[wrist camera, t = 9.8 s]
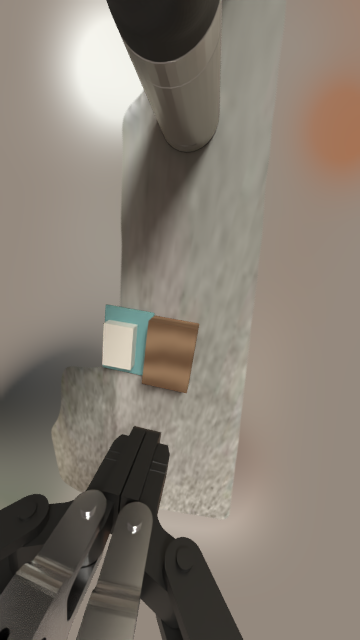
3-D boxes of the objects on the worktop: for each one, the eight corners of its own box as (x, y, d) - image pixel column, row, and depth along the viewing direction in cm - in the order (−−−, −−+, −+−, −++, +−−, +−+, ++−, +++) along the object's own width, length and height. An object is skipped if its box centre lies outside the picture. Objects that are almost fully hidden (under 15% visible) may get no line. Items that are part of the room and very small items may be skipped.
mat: (106, 304, 45) (105, 304, 45) (154, 313, 44) (154, 313, 44) (103, 366, 49) (102, 366, 49) (147, 375, 48) (146, 376, 48)
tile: (133, 328, 43) (137, 324, 45) (103, 323, 43) (109, 319, 46) (130, 370, 45) (134, 364, 47) (102, 364, 46) (107, 359, 48)
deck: (154, 315, 44) (148, 320, 40) (199, 323, 43) (197, 330, 39) (147, 373, 48) (141, 383, 44) (188, 382, 47) (186, 393, 43)
